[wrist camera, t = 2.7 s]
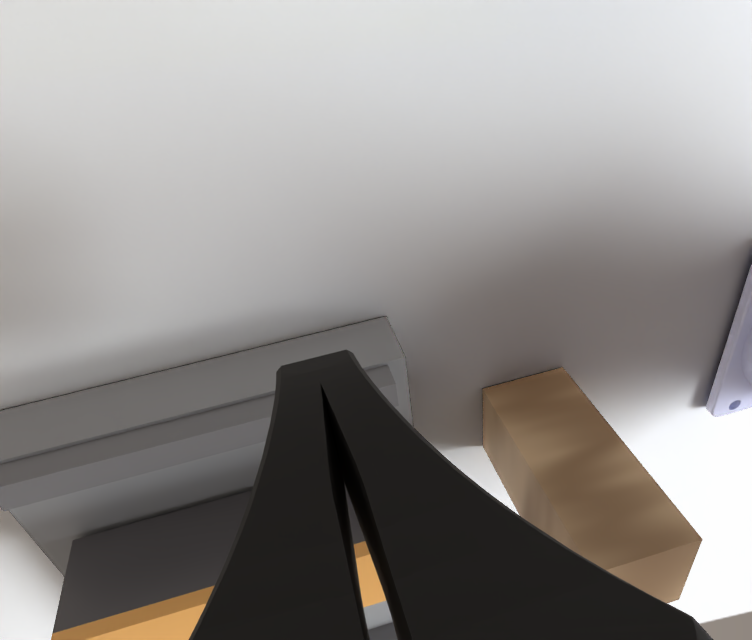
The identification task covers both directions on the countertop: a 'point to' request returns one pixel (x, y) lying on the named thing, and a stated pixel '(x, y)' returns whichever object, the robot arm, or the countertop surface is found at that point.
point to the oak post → (585, 483)
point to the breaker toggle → (164, 574)
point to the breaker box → (167, 441)
